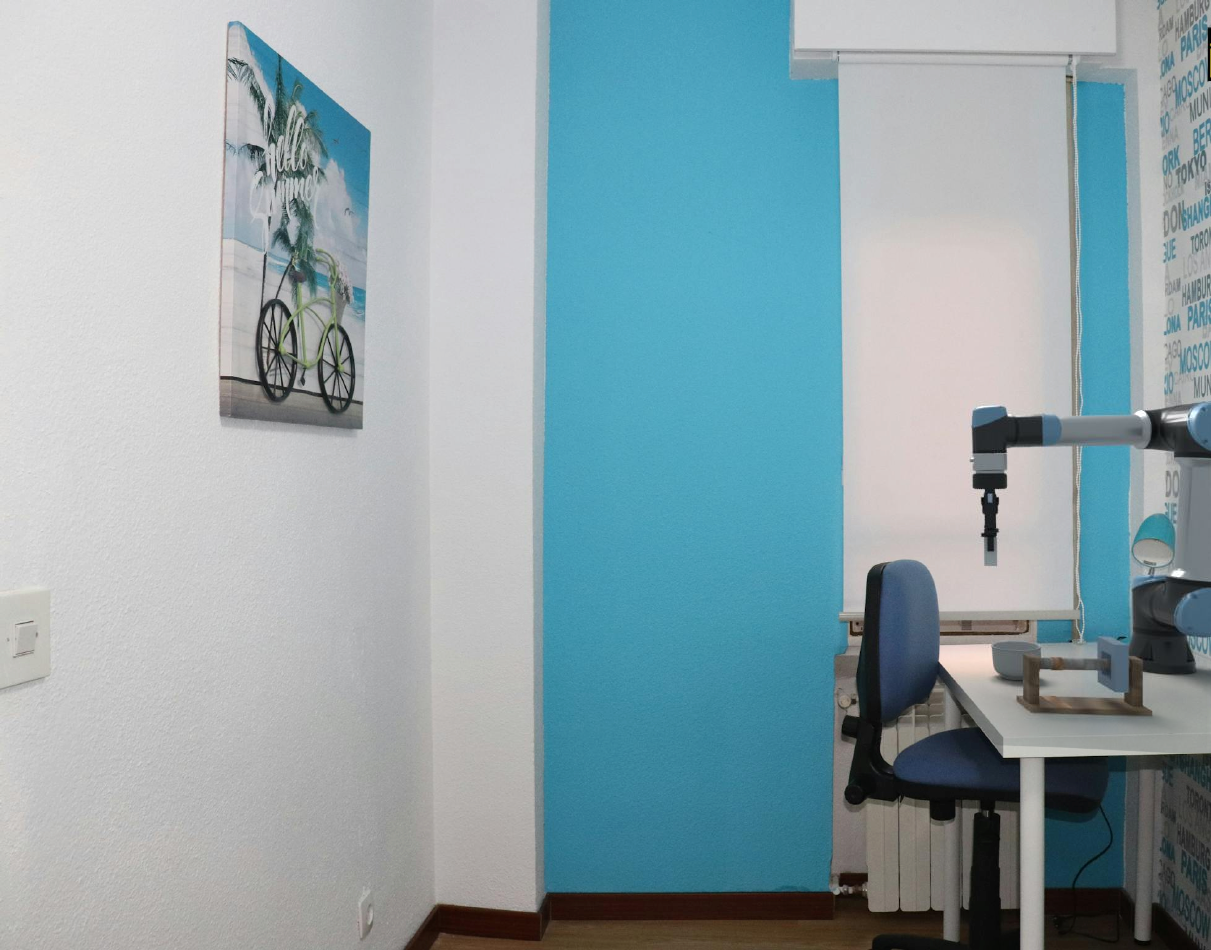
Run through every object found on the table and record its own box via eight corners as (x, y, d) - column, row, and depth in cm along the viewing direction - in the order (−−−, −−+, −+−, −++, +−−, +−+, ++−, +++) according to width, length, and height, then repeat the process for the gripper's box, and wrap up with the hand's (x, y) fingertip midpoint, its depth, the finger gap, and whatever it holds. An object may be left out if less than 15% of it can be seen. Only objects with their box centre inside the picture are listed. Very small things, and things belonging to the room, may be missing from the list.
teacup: (1046, 684, 214) (1046, 649, 213) (996, 682, 216) (996, 647, 216) (1031, 671, 227) (1031, 638, 227) (984, 669, 229) (984, 636, 229)
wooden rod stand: (1130, 703, 196) (1130, 653, 196) (1152, 715, 186) (1152, 663, 186) (1016, 700, 199) (1016, 651, 199) (1031, 712, 189) (1031, 660, 189)
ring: (1110, 682, 196) (1110, 636, 196) (1128, 692, 187) (1128, 645, 187) (1097, 681, 196) (1097, 636, 196) (1115, 692, 187) (1115, 644, 187)
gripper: (973, 471, 231) (973, 557, 231) (971, 473, 207) (972, 568, 208) (1005, 471, 228) (1006, 558, 228) (1008, 472, 205) (1009, 568, 205)
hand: (990, 563), depth 218 cm, fingers open, 13 cm apart
